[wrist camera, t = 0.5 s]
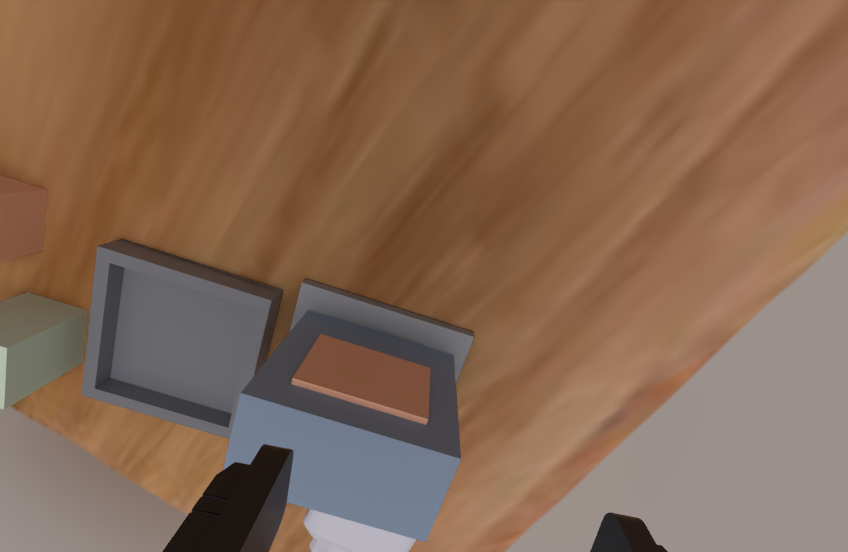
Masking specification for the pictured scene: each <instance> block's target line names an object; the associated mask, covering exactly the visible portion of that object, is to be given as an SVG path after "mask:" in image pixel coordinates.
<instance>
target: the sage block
mask: <svg viewBox="0 0 848 552" xmlns="http://www.w3.org/2000/svg"><path fill="white" fill-rule="evenodd" d="M87 318H88V310H85V309H81V308H78V307H75V306H71V305H68V304H65V303H62V302H58V301H55V300H52V299H48V298H45V297H42V296H39V295H35V294H32V293H29V292H26V293H23V294H20V295H18V296H15V297H12V298H9V299H6V300H3V301H0V409H3V410H4V409H6V408H8V407H9V406H11V405H13V404H14V403H16V402H18V401H19V400H21V399H23V398H24V397H26V396H28V395H29V394H31V393H33V392H34V391H36V390H38V389H39V388H41V387H43V386H44V385H46V384H48V383H49V382H51V381H53V380H54V379H56V378H58V377H59V376H61V375H63V374H64V373H66V372H68V371H69V370H71V369H73V368H74V367H76V366H78V365H79V364H81V363H83V355H84V346H85V337H86V327H87Z"/></svg>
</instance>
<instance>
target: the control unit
mask: <svg viewBox="0 0 848 552" xmlns="http://www.w3.org/2000/svg"><path fill="white" fill-rule="evenodd" d="M473 339H474V333H473V332H472V331H469V330H466V329H462V328H459V327H456V326H453V325H450V324H447V323H444V322H440V321H437V320H434V319H431V318H428V317H425V316H422V315H418V314H415V313H412V312H409V311H406V310H403V309H400V308H396V307H393V306H390V305H387V304H384V303H381V302H378V301H374V300H371V299H368V298H365V297H362V296H359V295H355V294H352V293H349V292H346V291H343V290H340V289H337V288H333V287H330V286H327V285H324V284H321V283H318V282H315V281H311V280H308V279H305V280H304V281H303V282H302V284H301V288H300V292H299V296H298V300H297V304H296V308H295V311H294V315H293V319H292V323H291V327H290V331H289V334H288V335H287V336H286V338H285V339H284V340H283V341H282V343H281V344H280V345H279V346H278V348H277V349H276V350H275V351H274V352H273V354H272V355H271V356H270V357H269V359H268V360H267V361H266V362H265V364H264V365H263V366H262V367H261V368H260V370H259V371H258V372H257V373H256V375H255V376H254V377H253V378H252V380H251V381H250V382H249V383H248V384H247V386H246V387H245V388H244V389H243V391H242V392H241V393H240V398H239V402H238V406H237V411H236V415H235V419H234V424H233V428H232V432H231V437H230V441H229V445H228V450H227V454H226V458H225V463H224V467H223V470H224V469H226V468H227V467H229V466H230V465H231V464H233V463H234V462H238V463H243V464H249V465H250V464H251V462H252V461H253V459H254V458H255V456H256V454H257V453H258V451H259V449H260V448H261V446H262V445H263V444H266V445H272V446H277V447H282V448H287V449H292V450H293V451H294V456H293V463H292V470H291V476H290V483H289V490H288V497H287V503H291V504H294V505H298V506H301V507H305V508H308V509H312V510H315V511H319V512H322V513H325V514H329V515H332V516H336V517H339V518H343V519H346V520H350V521H353V522H357V523H360V524H364V525H367V526H371V527H374V528H378V529H381V530H385V531H388V532H392V533H395V534H399V535H402V536H406V537H409V538H413V539H416V540H420V541H423V542H426V540H427V538H428V536H429V533H430V531H431V528H432V526H433V524H434V521H435V519H436V517H437V514H438V512H439V510H440V507H441V505H442V502H443V500H444V498H445V495H446V493H447V491H448V488H449V486H450V484H451V481H452V479H453V476H454V474H455V472H456V469H457V467H458V465H459V462H460V460H461V453H460V439H459V424H458V410H457V395H456V382H457V379H458V377H459V374H460V372H461V369H462V367H463V364H464V362H465V359H466V357H467V354H468V352H469V349H470V347H471V344H472V342H473Z"/></svg>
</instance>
